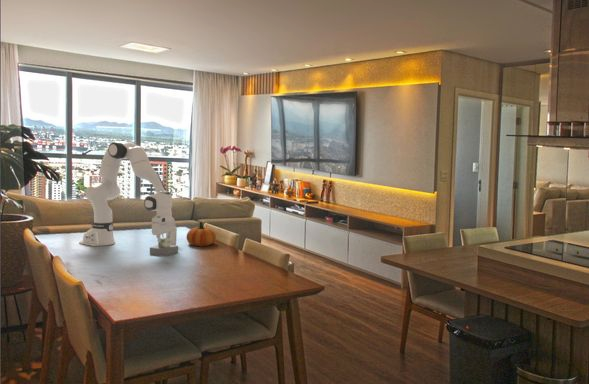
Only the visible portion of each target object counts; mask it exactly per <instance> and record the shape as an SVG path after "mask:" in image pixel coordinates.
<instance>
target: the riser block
mask: <svg viewBox="0 0 589 384" xmlns="http://www.w3.org/2000/svg"><path fill="white" fill-rule="evenodd" d="M178 252H179V246H178V245H177V244H176V245H170V246H169V247H166V248H163V247H158V244H157V245H153V246H150V247H149V255H156V256H164V257H168V256H171V255H174V254H177V253H178Z"/></svg>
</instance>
